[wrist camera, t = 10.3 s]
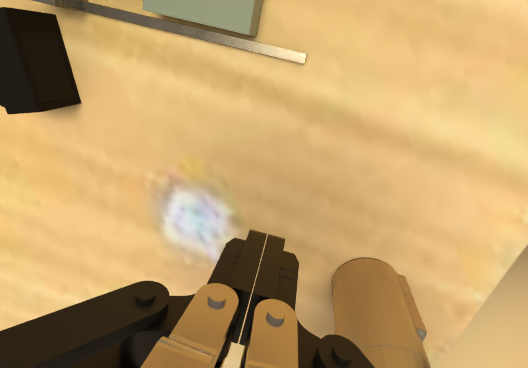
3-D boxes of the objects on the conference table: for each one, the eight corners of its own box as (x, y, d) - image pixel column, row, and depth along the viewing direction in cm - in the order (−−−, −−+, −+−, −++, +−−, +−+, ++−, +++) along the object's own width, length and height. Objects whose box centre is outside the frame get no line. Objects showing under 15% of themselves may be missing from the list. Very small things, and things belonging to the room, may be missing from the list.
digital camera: (16, 18, 39) (-43, 12, 32) (55, 13, 38) (2, 5, 31) (45, 105, 42) (-3, 115, 36) (81, 103, 41) (38, 112, 35)
